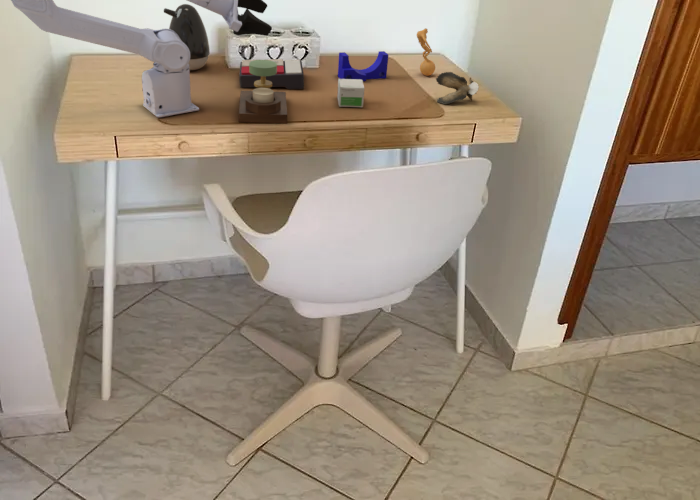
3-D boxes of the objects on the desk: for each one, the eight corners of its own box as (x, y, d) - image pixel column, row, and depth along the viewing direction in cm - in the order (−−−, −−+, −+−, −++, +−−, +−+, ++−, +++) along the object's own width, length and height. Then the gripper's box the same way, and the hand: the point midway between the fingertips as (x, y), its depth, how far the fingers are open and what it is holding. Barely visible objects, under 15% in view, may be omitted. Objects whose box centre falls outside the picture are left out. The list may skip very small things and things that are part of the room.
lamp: (277, 90, 146) (277, 68, 144) (249, 89, 146) (248, 67, 143) (276, 81, 151) (276, 60, 149) (249, 80, 151) (249, 59, 148)
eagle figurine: (462, 88, 165) (430, 83, 161) (477, 69, 159) (445, 63, 155) (469, 113, 162) (436, 109, 158) (485, 95, 156) (452, 90, 152)
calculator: (240, 58, 165) (301, 57, 166) (241, 75, 167) (301, 74, 169) (238, 72, 156) (303, 71, 157) (240, 90, 158) (304, 89, 160)
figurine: (439, 80, 173) (446, 32, 166) (417, 80, 171) (423, 32, 165) (427, 70, 179) (433, 24, 173) (406, 70, 178) (411, 24, 171)
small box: (338, 107, 151) (339, 86, 149) (336, 98, 156) (337, 77, 153) (363, 108, 152) (365, 87, 149) (361, 99, 157) (362, 78, 154)
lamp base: (287, 123, 141) (287, 105, 139) (238, 122, 140) (238, 104, 138) (285, 100, 153) (285, 83, 151) (240, 99, 152) (240, 81, 149)
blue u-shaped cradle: (343, 82, 166) (344, 57, 163) (337, 76, 170) (339, 52, 167) (388, 80, 170) (390, 56, 167) (382, 74, 174) (384, 51, 170)
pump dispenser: (163, 62, 170) (158, 0, 162) (204, 60, 174) (201, -2, 166) (172, 75, 162) (167, 10, 154) (215, 72, 166) (212, 8, 158)
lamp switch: (273, 104, 140) (273, 95, 139) (252, 104, 139) (252, 94, 138) (273, 97, 144) (273, 87, 143) (252, 96, 143) (252, 87, 142)
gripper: (220, 0, 129) (281, 27, 136) (214, -44, 137) (272, -16, 144) (204, 28, 133) (264, 52, 141) (199, -16, 141) (256, 9, 149)
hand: (267, 20), depth 143 cm, fingers open, 7 cm apart
